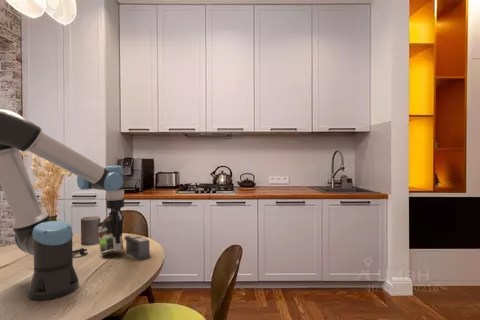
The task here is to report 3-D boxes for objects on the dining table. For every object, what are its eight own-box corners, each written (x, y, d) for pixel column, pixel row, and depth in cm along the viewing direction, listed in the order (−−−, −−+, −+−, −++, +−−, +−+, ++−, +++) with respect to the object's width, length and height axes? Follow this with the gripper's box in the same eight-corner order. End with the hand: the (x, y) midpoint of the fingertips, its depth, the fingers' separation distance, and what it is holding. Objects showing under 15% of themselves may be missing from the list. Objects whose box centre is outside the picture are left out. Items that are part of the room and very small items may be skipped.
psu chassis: (137, 260, 135) (137, 242, 135) (125, 252, 146) (124, 235, 146) (149, 257, 139) (149, 239, 138) (136, 250, 150) (136, 233, 150)
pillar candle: (76, 244, 161) (76, 216, 161) (90, 239, 170) (90, 213, 170) (91, 246, 158) (91, 218, 158) (104, 241, 167) (104, 214, 167)
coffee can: (109, 250, 136) (105, 220, 140) (96, 255, 140) (92, 225, 144) (128, 247, 145) (124, 218, 148) (115, 252, 149) (111, 224, 153)
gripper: (128, 199, 136) (130, 251, 136) (118, 197, 146) (120, 245, 146) (111, 201, 131) (113, 255, 131) (102, 198, 141) (104, 248, 141)
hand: (117, 249), depth 139 cm, fingers closed
